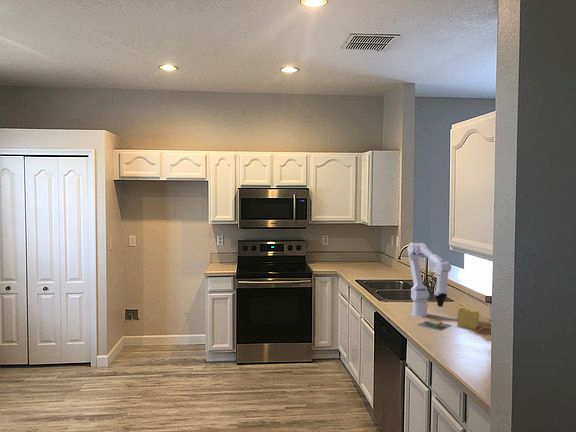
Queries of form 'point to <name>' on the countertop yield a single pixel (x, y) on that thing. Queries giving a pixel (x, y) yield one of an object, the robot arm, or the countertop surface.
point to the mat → (436, 328)
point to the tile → (433, 323)
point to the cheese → (468, 318)
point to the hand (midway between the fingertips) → (440, 306)
